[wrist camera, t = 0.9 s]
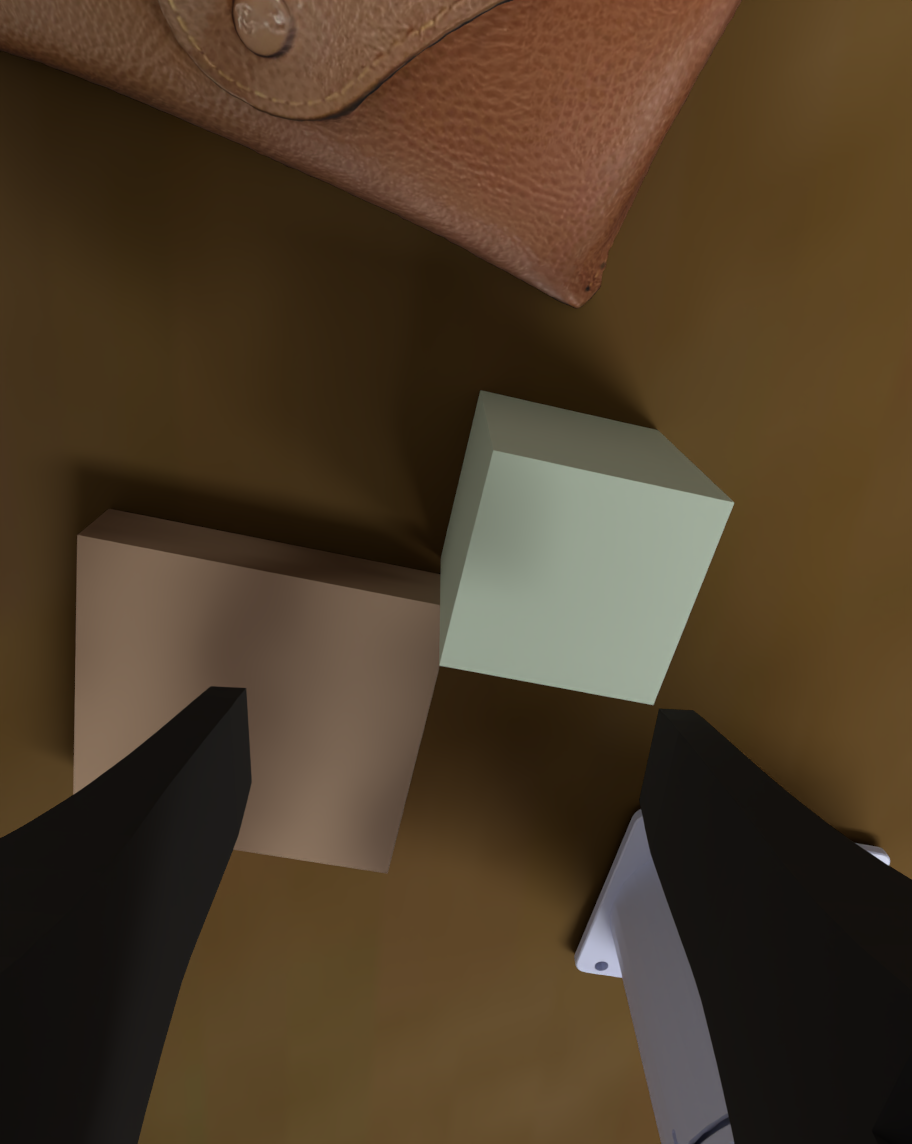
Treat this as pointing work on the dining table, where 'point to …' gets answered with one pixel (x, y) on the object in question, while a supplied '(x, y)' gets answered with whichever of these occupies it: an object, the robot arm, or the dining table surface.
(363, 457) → the dining table surface
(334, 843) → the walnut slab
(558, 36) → the sunglasses case
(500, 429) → the green block
